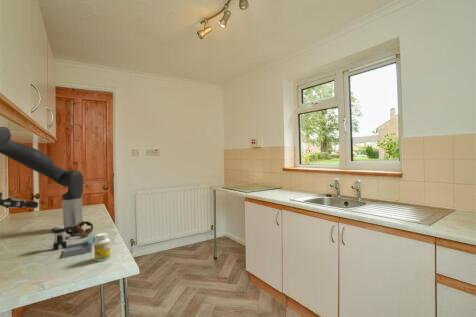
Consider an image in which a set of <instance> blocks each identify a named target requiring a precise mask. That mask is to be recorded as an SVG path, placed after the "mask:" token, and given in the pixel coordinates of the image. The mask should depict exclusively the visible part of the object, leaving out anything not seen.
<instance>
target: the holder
mask: <svg viewBox="0 0 476 317" xmlns="http://www.w3.org/2000/svg"><path fill="white" fill-rule="evenodd" d="M88 237H89V243H88V242H83V241H82V242H76V243H71V244H67V245H66V248H64V250H63V253H62V257H61V258H62V259H64V258H69V257H74V256H79V255H84V254H90V253H92V252H93V245H92V239H93V236H88Z"/></svg>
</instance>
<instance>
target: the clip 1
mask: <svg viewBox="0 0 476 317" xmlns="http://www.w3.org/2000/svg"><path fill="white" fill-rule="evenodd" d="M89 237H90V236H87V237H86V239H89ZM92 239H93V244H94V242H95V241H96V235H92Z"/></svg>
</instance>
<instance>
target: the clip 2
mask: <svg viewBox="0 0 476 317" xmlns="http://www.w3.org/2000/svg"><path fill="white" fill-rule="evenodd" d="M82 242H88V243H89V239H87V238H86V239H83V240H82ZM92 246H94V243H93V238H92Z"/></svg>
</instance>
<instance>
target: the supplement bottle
mask: <svg viewBox="0 0 476 317" xmlns="http://www.w3.org/2000/svg"><path fill="white" fill-rule="evenodd" d="M108 237H109V236H108V233H107V232H101V233H97V234H95V242H94V243H93V246H94V260H95V261H96V262H104V261H107V260H109V259H111V239H110V238H108Z"/></svg>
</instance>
